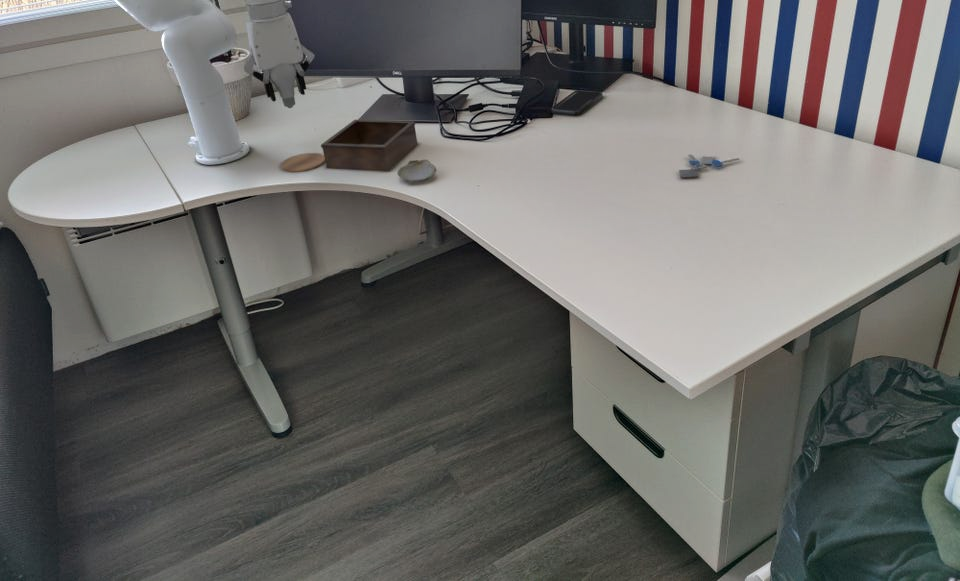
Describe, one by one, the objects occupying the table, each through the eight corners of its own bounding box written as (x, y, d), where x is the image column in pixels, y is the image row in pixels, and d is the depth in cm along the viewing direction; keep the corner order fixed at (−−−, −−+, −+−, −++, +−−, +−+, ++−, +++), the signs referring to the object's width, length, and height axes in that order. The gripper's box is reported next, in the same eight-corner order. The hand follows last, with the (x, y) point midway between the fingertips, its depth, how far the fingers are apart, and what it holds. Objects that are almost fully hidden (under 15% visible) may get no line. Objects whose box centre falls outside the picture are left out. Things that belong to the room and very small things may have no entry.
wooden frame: (325, 168, 166) (320, 144, 163) (358, 141, 178) (354, 119, 175) (388, 171, 161) (384, 147, 158) (418, 144, 173) (415, 121, 170)
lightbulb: (306, 108, 161) (294, 57, 155) (278, 114, 160) (265, 63, 154) (301, 101, 166) (290, 52, 160) (274, 107, 165) (262, 57, 159)
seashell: (400, 192, 155) (434, 184, 152) (393, 181, 153) (428, 172, 150) (408, 170, 161) (441, 162, 158) (402, 159, 159) (435, 150, 156)
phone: (549, 108, 181) (576, 89, 192) (550, 113, 182) (576, 94, 192) (579, 111, 177) (604, 92, 188) (579, 116, 178) (604, 96, 188)
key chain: (688, 181, 142) (688, 177, 141) (658, 169, 148) (658, 165, 147) (740, 161, 147) (740, 157, 147) (709, 150, 153) (709, 146, 153)
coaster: (273, 170, 168) (272, 169, 168) (296, 153, 176) (296, 152, 175) (311, 173, 164) (310, 171, 164) (333, 155, 172) (332, 154, 172)
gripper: (303, 0, 158) (321, 84, 167) (222, 15, 152) (245, 101, 162) (311, 5, 152) (330, 92, 161) (227, 21, 146) (251, 109, 156)
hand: (287, 95), depth 162 cm, fingers closed on lightbulb, 5 cm apart
